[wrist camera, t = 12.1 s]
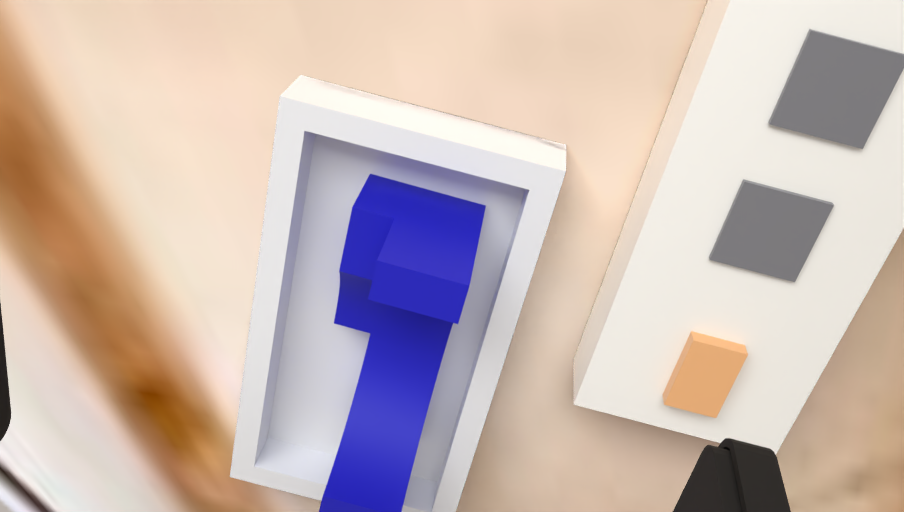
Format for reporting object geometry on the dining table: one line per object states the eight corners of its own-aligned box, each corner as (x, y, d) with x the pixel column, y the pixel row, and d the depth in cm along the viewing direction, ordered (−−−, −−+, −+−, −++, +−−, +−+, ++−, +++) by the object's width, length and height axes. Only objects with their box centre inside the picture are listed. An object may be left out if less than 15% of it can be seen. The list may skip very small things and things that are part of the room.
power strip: (1106, -245, 23) (1189, -253, 20) (758, 408, 35) (777, 467, 32) (827, -319, 23) (867, -337, 20) (573, 359, 35) (573, 414, 32)
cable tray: (566, 144, 31) (566, 171, 29) (454, 493, 40) (448, 534, 37) (300, 74, 31) (279, 95, 28) (248, 439, 39) (229, 476, 37)
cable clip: (370, 173, 32) (330, 247, 26) (486, 205, 32) (469, 286, 26) (319, 413, 37) (278, 513, 32) (416, 440, 37) (392, 543, 32)
